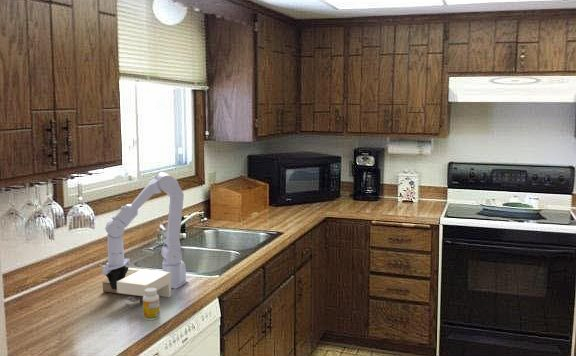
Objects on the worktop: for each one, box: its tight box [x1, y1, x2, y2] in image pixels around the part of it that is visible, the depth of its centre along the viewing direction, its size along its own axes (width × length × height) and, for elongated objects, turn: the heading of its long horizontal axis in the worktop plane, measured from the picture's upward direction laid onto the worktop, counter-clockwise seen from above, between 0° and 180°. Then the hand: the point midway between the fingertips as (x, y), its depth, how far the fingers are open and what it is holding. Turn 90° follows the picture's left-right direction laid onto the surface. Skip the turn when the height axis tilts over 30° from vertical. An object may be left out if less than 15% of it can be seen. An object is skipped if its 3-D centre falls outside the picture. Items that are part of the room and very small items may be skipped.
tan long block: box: [102, 279, 139, 297], centre depth 217 cm, size 3×16×4 cm, turn 70°
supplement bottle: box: [142, 288, 161, 321], centre depth 192 cm, size 5×5×10 cm
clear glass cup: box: [124, 296, 141, 307], centre depth 206 cm, size 5×5×2 cm
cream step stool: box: [115, 268, 172, 298], centre depth 208 cm, size 16×12×9 cm
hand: (117, 287), depth 218 cm, fingers closed on tan long block, 3 cm apart
